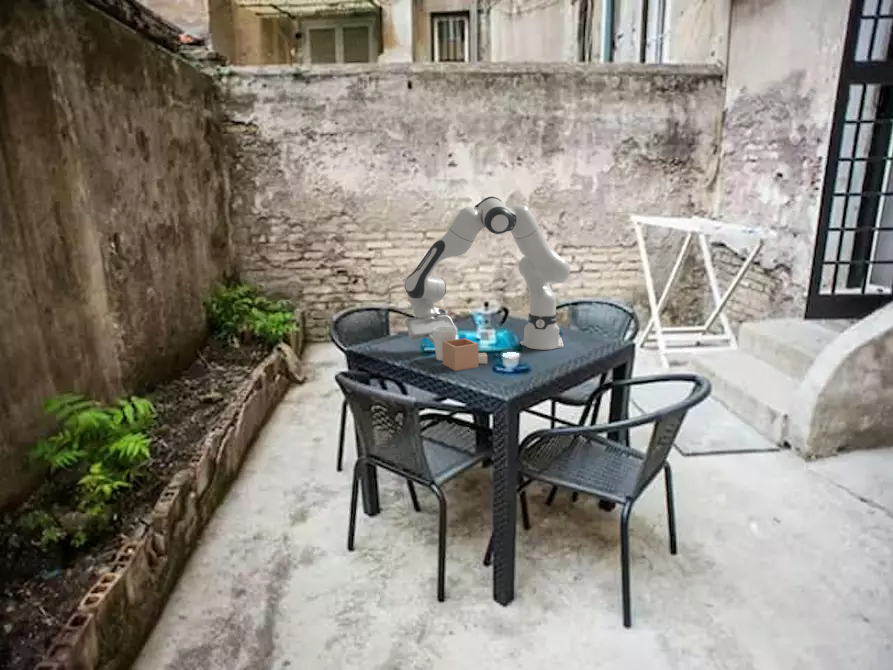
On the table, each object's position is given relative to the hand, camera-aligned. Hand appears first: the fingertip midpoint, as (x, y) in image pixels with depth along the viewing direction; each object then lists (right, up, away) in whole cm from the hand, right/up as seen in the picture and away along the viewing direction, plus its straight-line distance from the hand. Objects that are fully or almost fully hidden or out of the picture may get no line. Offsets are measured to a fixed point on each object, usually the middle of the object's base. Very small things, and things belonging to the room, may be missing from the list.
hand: (437, 344), depth 243 cm
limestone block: (+17, -8, -10) cm, 21 cm away
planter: (+9, -9, -15) cm, 19 cm away
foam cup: (+3, -7, -5) cm, 9 cm away
